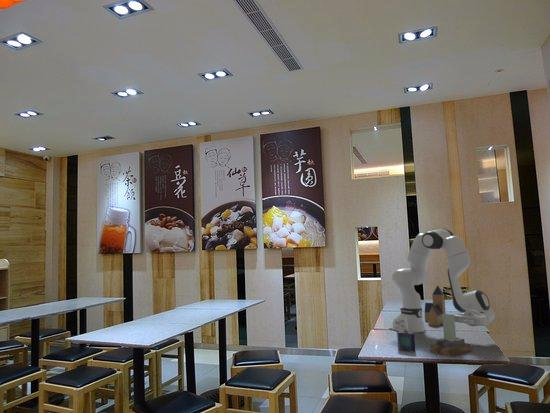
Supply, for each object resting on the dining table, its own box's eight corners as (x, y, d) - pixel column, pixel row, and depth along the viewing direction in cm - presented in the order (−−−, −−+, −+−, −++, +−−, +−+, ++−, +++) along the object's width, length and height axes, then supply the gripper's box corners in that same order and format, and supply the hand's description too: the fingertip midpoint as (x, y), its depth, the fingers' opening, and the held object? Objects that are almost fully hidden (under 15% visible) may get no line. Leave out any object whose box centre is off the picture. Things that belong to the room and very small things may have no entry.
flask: (397, 349, 212) (395, 328, 213) (399, 348, 214) (398, 327, 215) (414, 352, 206) (412, 330, 207) (416, 351, 208) (415, 329, 209)
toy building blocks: (446, 321, 283) (443, 284, 285) (438, 326, 268) (435, 287, 271) (427, 319, 290) (425, 284, 293) (419, 324, 276) (416, 287, 278)
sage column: (444, 338, 206) (442, 314, 207) (448, 337, 208) (447, 313, 209) (451, 340, 203) (449, 315, 204) (456, 338, 205) (454, 314, 206)
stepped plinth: (430, 352, 205) (430, 339, 206) (449, 346, 214) (448, 334, 215) (452, 356, 195) (451, 343, 196) (471, 351, 204) (470, 338, 205)
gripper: (454, 309, 227) (439, 312, 219) (491, 313, 210) (476, 317, 203) (455, 321, 226) (440, 324, 219) (492, 326, 210) (477, 330, 202)
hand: (458, 321), depth 211 cm, fingers open, 8 cm apart
